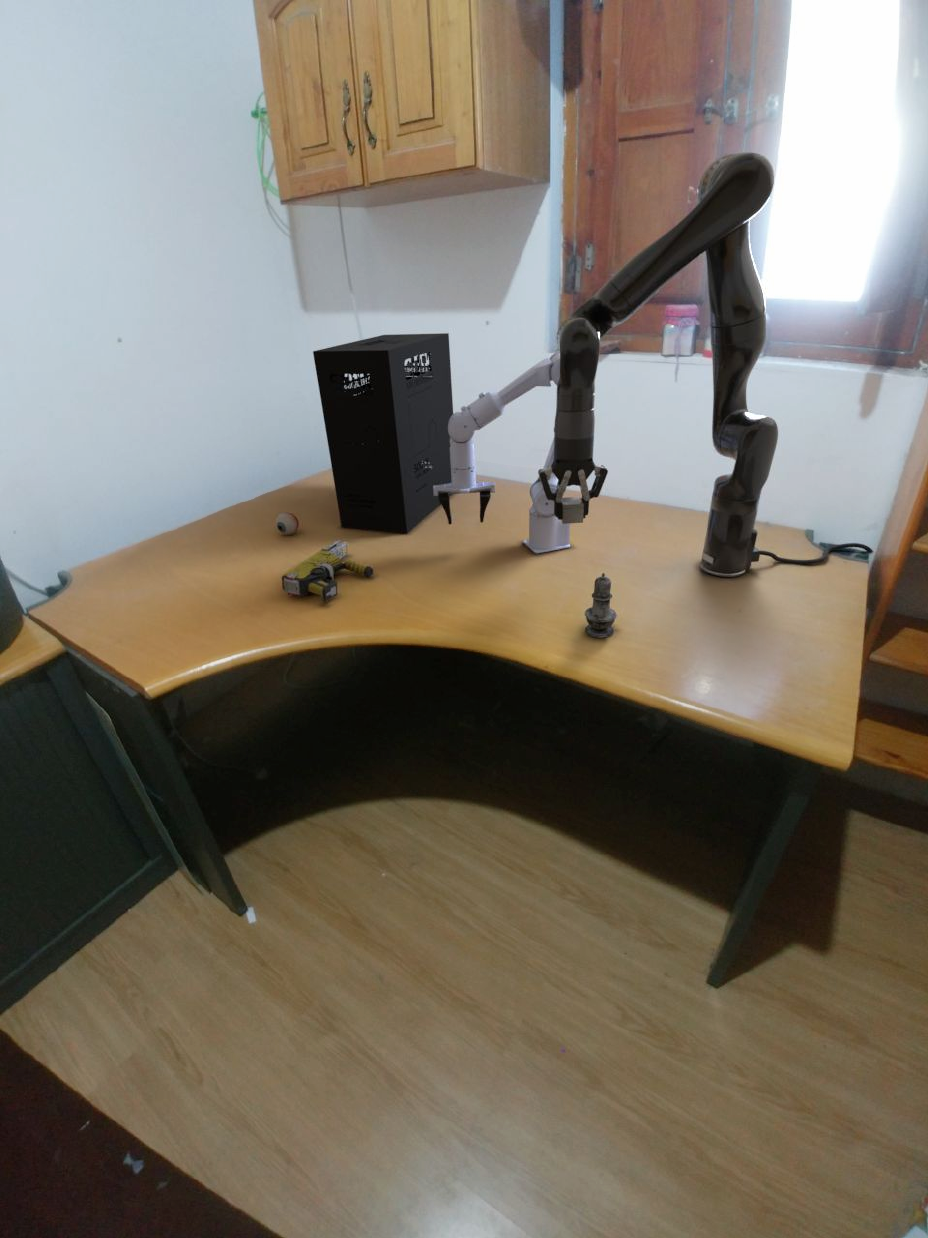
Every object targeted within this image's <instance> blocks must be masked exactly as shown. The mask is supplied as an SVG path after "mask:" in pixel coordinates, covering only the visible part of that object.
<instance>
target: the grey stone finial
mask: <svg viewBox="0 0 928 1238" xmlns="http://www.w3.org/2000/svg"><path fill="white" fill-rule="evenodd" d="M611 587H612V580H611V579H610V578H609V577H607V576H606V573H605V572H603V573H601V576H598V577H596V578H595V580H594V587H593V593H591V598H592V606H590V607H589V608H587V609H585V611H584V613H583V614H584V617H585V621H586V622H587V625H586V626H585V628H584V629H585V630H584V631H585V633H586V634H587V635H589V636H590V637H593V638H598V639H600V638H602V639H603V638H608V637H610V636H612V635H613V634H614V632H615V630H614V628H613V627H612V625H613V624H614V623H615V620H616V619H617V616H618V614H617V612H616V611H615V610H614V609H613V608H612V607H611V604H610V603H611V599H613V595H612V594H611V589H612V588H611Z"/></svg>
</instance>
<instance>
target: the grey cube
mask: <svg viewBox="0 0 928 1238" xmlns="http://www.w3.org/2000/svg"><path fill="white" fill-rule="evenodd" d="M581 498H582V497H581V496H569V497H563V498H562V520H561V521H562V524H569V523H570V524H582V523H584V518H583V511H584V503H583V502H582V500H581Z"/></svg>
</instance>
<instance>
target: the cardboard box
mask: <svg viewBox="0 0 928 1238" xmlns="http://www.w3.org/2000/svg"><path fill="white" fill-rule="evenodd" d="M450 351H451V350H450V334H449V332H447V333H445V332H444V333H443V332H442V333H441V332H440V333H407V334H406V333H405V334H403V333H401V334H398V333H397V334H381V335H377V336H372V337H369V338H364V339H361V340H356V341H352V342H347V343H343V344H338V345H335V346H330V347H326V348H321V349H317V350H313V351H312V355H313V360H314V366H315V372H316V379H317V386H318V391H319V397H320V404H321V410H322V415H323V416H322V417H323V422H324V428H325V433H326V441H327V447H328V452H329V458H330V466H331V471H332V472H331V473H332V477H333V483H334V489H335V495H336V501H337V502H336V503H337V509H338V514H339V520H340V527H341V528H347V529H348V528H349V529H358V530H359V529H360V530H370V531H378V532H379V531H380V532H389V533H402V534H408V533H410V531H412V530H413V529H414V528H415V527H416V526H418V525H419V524H420V523H421V522H422V521H423V520H424V519H426V518H427V517H428V516H429V515H430V514H431V513H432V512H433V511H435V510H436V509H437V508H439V506H440V505H441V503H440V501H439V496H434V491H433V486H435V485H443V484H449V483H452V479H451V464H450V441H449V440H450V435H449V433H448V423H449V419H450V417H451V416H452V415H453V414H454V404H453V403H454V401H453V400H454V399H453V387H452V367H451V352H450ZM421 355H422V356H421ZM415 357H416V360H415ZM409 359H410V360H409ZM406 360H407V362H406ZM427 361H428V363H427ZM405 363H406V364H405ZM426 363H427V365H426ZM422 364H423V365H422ZM354 375H356V378H355V377H354ZM361 375H363V376H361ZM350 377H351V380H350ZM452 495H453V494H449V497H451V496H452Z"/></svg>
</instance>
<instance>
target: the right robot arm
mask: <svg viewBox="0 0 928 1238" xmlns="http://www.w3.org/2000/svg"><path fill="white" fill-rule="evenodd" d="M700 178H701V179H700V180H699V184H698V187H697V195H696V200H697V201H696V203H697V204H696V205H695V206H694V207H693V208H692V210H691V211H690V212H689V213H688V214H686V216H684V217H683V219H681V220H680V221H679V222H677V224H675V225H674V226H673V227H672V228H670V230H668V231H666V233H663V235H661V236H660V237H658V238H657V239H655V240H654V241H653V242H651V243H650V244H649V245H647V246H646V247H644V248H643V249H642V250H640V251H639V252H638V253H637V254H635V255H634V256H633V257H631V259H629V260H628V261H627V262H626V263H625V264H624V265H623V266H622V267H621V268H620V269H619V270H618V271H617V272H616V273H614V274H613V276H611V278H610V279H608V281H606V282H605V283H604V284H603V286H602V287H601V288H599V290H598V291H597V292H596V293H595V294H594V295H592V296H591V297H590V298H589V299H587V300H586V301H585V302H584V303H582V304H581V305H580V306H579V307H577V308H576V309H575V310H574V311H573V312H572V313H570V314H569V315H568V316H567V317H566V318H565V319H564V320H563V321H562V323H560V325H559V327H558V329H557V332H556V336H555V341H556V346H557V349H558V350H559V351H560V378H559V380H558V384H557V385H556V399H555V400H556V403H555V406H556V408H555V416H554V426H553V439H554V461H553V463H552V465H551V467H550V468H547V469H545V470H543V468H540V469H538V471H537V473H538V477H540V480H541V483H542V486H543V489H544V492H545V495H546V497H547V499H548V500H553V501H554V514H555V516H556V517H557V518H558V520H562V498H564V494H565V493H566V490H567V487H571V486H575V487H576V486H578V487H579V489H580V494H581V497H580V498H581V500H582V502H583V503H584V511H583V519H586V516H588V515H589V513H590V512H589V510H590V508H589V507H590V500H591V499H595V498H599V496H600V494H601V492H602V488H603V486H604V484H605V481H606V478H607V476H608V473H609V469H607V467H606V466H605V465H604V464H603V465H597V464H596V463H595V462H594V442H595V426H596V417H595V397H596V376H597V371H598V366H599V365H598V364H599V360H600V352H601V339H602V338H603V337H604V336H605V335H606V334H608V333H609V332H610V331H611V330H612V329H613V328H614V327H616V326H619V325H621V324H623V323H624V322H626V321H627V320H629V319H630V318H631V317H632V316H633V315H634V314H635V313H636V312H638V311H639V310H640V309H641V308H642V307H643V306H644V305H645V304H646V303H647V302H648V301H649V300H650V299H651V298H653V297H654V295H656V294H657V293H658V292H659V291H660V290H661V289H662V288H663V287H664V286H666V285H667V284H668V283H669V282H670V281H671V280H672V279H673V278H674V277H675V276H676V275H678V274H679V273H680V272H681V271H682V270H684V269H685V268H686V267H687V266H688V265H690V264H691V263H692V262H694V260H696V259H697V258H698V257H699V256H701V255H702V254H703V253H704V252H705V260H706V277H707V278H706V281H707V282H706V283H707V284H706V285H707V300H708V301H707V303H708V327H709V342H710V350H711V364H712V367H711V368H712V386H713V388H712V390H713V397H712V398H713V399H712V419H711V420H712V424H711V439H712V446H713V448H714V450H715V451H716V452H717V454H719V455H720V456H722V457H725V458H726V459H729V460H734V461H735V462H734V465H733V470H732V472H731V473H727V474H722V475H719V476H717V477H716V478H715V480H714V482H713V487H712V492H711V499H710V505H709V512H708V517H707V525H706V531H705V537H704V544H703V549H702V553H701V561H700V564H699V565H700V570H702V571H703V572H705V573H706V574H709V575H712V576H716V577H720V578H735V577H736V578H737V577H740V576H742V575H744V574H745V573H750V571H751V565H752V563H756V562H759V561H760V556H765V557H770V558H772V560H774V561H775V562H779V563H785V564H793V565H815V564H819V563H823V562H824V561H826V560H827V559H828V556H829V552H832V551H834V550H840V549H846V548H860V549H863V550H865V551H866V552H867V553H871V554H872V553H874V550H873V549H872V548H871V547H870V546H868V545H866V544H864V543H859V542H848V543H840V544H835V545H830V546H827V547H826V548H824V550H823V553H822V556H821V557H817V558H814V559H791V558H785V557H780V556H778V555H777V554H775V553H774V552H771V551H767V550H761V549H759V548H757V547H756V542H757V537H758V531H757V529H755V525H756V520H757V515H758V509H759V505H760V501H761V495H762V491H763V489H764V487H765V484H766V483H767V481H768V478H769V475H770V472H771V468H772V465H773V461H774V457H775V453H776V450H777V445H778V440H779V428H778V427H779V426H778V424H777V422H776V420H775V419H774V418H772V417H771V416H767V415H763V414H758V413H755V412H754V413H753V412H750V411H749V409H748V404H747V403H748V402H747V388H748V387H747V386H748V381H749V378H750V375H751V373H752V372H753V369H754V367H755V366H756V364H757V362H758V360H759V358H760V356H761V354H762V352H763V349H764V347H765V343H766V338H767V316H766V315H767V313H766V311H767V309H766V299H765V298H766V297H765V295H764V290H763V286H762V282H761V279H760V276H759V274H758V270H757V268H756V264H755V262H754V258H753V255H752V249H751V243H750V241H751V240H750V220H751V219H753V217H755V216H756V215H757V214H758V213H760V211H761V210H762V209H763V208H764V207H765V206H766V204H767V203H768V201H769V199H770V196H771V194H772V191H773V188H774V185H775V171H774V167H773V165H772V162H771V161H770V160H769V159H768V158H767V157H766V156H765V155H763V154H760V153H757V152H752V151H747V152H746V151H745V152H737V153H730V154H725V155H722V156H719V157H718V158H716V159H715V160H713V161H712V162H711V163H710V164H709V165H708V166H707V168H706V169H705V170H704V172H703V174H702V176H701V177H700ZM593 472H594V476H595V478H594V480H593V483H592V486H591V489H589V486H588V481H587V480H588V479H589V478H590V476H591V475H592V473H593ZM552 473H554V475H555V476H556V477H557V479H558V482H557V486H556V491H555V493H553V492H551V489H550V486H549V483H548V480H550V478H551V474H552Z"/></svg>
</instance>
